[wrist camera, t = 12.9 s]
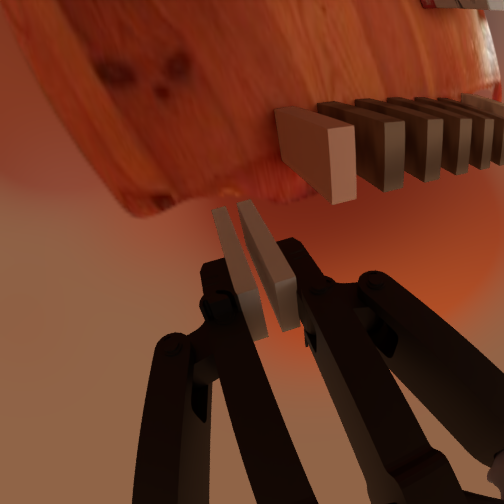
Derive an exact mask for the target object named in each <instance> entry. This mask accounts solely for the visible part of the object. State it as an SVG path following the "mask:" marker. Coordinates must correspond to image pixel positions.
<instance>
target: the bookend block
mask: <svg viewBox="0 0 504 504" xmlns="http://www.w3.org/2000/svg"><path fill="white" fill-rule="evenodd" d="M461 102H462V103H465V104H468V105H471V106H474V107H478V108H480V109H483V110H486V111H489V112H492V113H495V114H497V115H500V116H502V117H504V104H503V103H501V102H498V101H495V100H492V99H489V98H485V97H482V96H479V95H473V94H464V93H461Z"/></svg>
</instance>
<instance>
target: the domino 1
mask: <svg viewBox="0 0 504 504" xmlns="http://www.w3.org/2000/svg"><path fill="white" fill-rule="evenodd" d="M274 113H275V119H276V125H277V132H278V138H279V145H280V152H281V159H282V161H283V162H284V163H285V164H286V165H288V166H289V167H290V168H291V169H292V170H293V171H295V172H296V173H297V174H298V175H299V176H300V177H302V178H303V179H304V180H305V181H306V182H307V183H308V184H310V185H311V186H312V187H313V188H314V189H315V190H316V191H318V192H319V193H320V194H321V195H322V196H323V197H324V198H325V199H326V200H328V201H329V202H330V203H331V204H332V205H334V204H338V203H342V202H346V201H349V200H354V199H356V152H355V131H354V125H351V124H349V123H346V122H343V121H340V120H337V119H334V118H331V117H328V116H325V115H322V114H319V113H315V112H312V111H309V110H305V109H302V108H298V107H295V106H291V107H284V108H278V109H274Z"/></svg>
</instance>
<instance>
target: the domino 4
mask: <svg viewBox="0 0 504 504" xmlns="http://www.w3.org/2000/svg"><path fill="white" fill-rule="evenodd" d="M387 103H391V104H395V105H399V106H402V107H406V108H410V109H413V110H417V111H420V112H423V113H426V114H430V115H433V116H436V117H439V118H442V119H443V141H442V156H441V167H442V168H444V169H445V170H447V171H449V172H451V173H453V174H454V175H460V174H464V173H467V172H468V164H469V156H470V145H471V132H472V119H471V118H469V117H466V116H463V115H460V114H457V113H454V112H451V111H448V110H445V109H441V108H438V107H435V106H431V105H428V104H424V103H420V102H417V101H413V100H409V99H405V98H400V97H395V98H387Z"/></svg>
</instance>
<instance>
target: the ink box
mask: <svg viewBox="0 0 504 504" xmlns="http://www.w3.org/2000/svg"><path fill="white" fill-rule="evenodd" d="M420 1H421V3H422V6H423V8H463V9H483V10H498V11H504V0H420Z"/></svg>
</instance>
